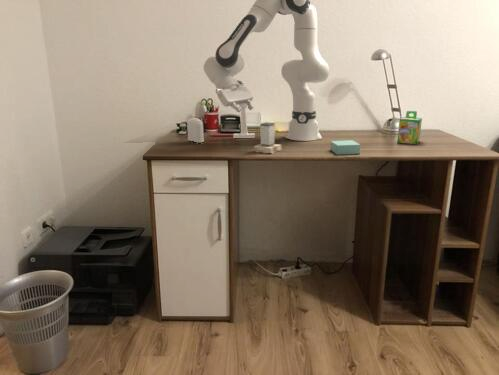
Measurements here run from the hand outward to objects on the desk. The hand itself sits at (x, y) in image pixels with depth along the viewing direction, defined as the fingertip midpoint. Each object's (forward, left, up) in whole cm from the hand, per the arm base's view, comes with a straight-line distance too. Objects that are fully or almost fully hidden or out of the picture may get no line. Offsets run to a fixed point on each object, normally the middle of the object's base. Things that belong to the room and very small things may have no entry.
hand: (245, 110), depth 194 cm
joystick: (-26, -8, -18) cm, 33 cm away
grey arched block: (-10, -29, -18) cm, 36 cm away
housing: (+4, +11, -15) cm, 19 cm away
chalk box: (-27, +74, -18) cm, 81 cm away
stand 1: (+4, +11, -18) cm, 21 cm away
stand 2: (0, +45, -18) cm, 48 cm away
